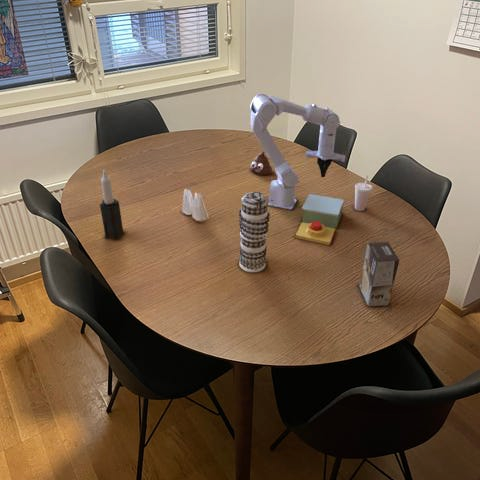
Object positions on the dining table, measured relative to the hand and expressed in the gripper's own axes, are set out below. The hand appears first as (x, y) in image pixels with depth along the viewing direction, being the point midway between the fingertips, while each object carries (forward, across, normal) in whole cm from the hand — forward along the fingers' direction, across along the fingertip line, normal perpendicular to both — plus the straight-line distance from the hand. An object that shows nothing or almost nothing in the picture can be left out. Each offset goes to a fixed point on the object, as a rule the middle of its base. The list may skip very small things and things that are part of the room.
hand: (323, 175), depth 178 cm
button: (+8, +2, -25) cm, 27 cm away
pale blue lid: (+5, +2, -13) cm, 15 cm away
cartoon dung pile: (+54, +2, +243) cm, 249 cm away
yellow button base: (+10, +2, -26) cm, 28 cm away
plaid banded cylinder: (+10, -15, -48) cm, 52 cm away
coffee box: (+10, +23, -52) cm, 58 cm away
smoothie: (+11, +15, -2) cm, 19 cm away
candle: (+9, -65, -47) cm, 81 cm away
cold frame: (+10, +3, -14) cm, 17 cm away
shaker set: (+10, -42, -28) cm, 52 cm away
